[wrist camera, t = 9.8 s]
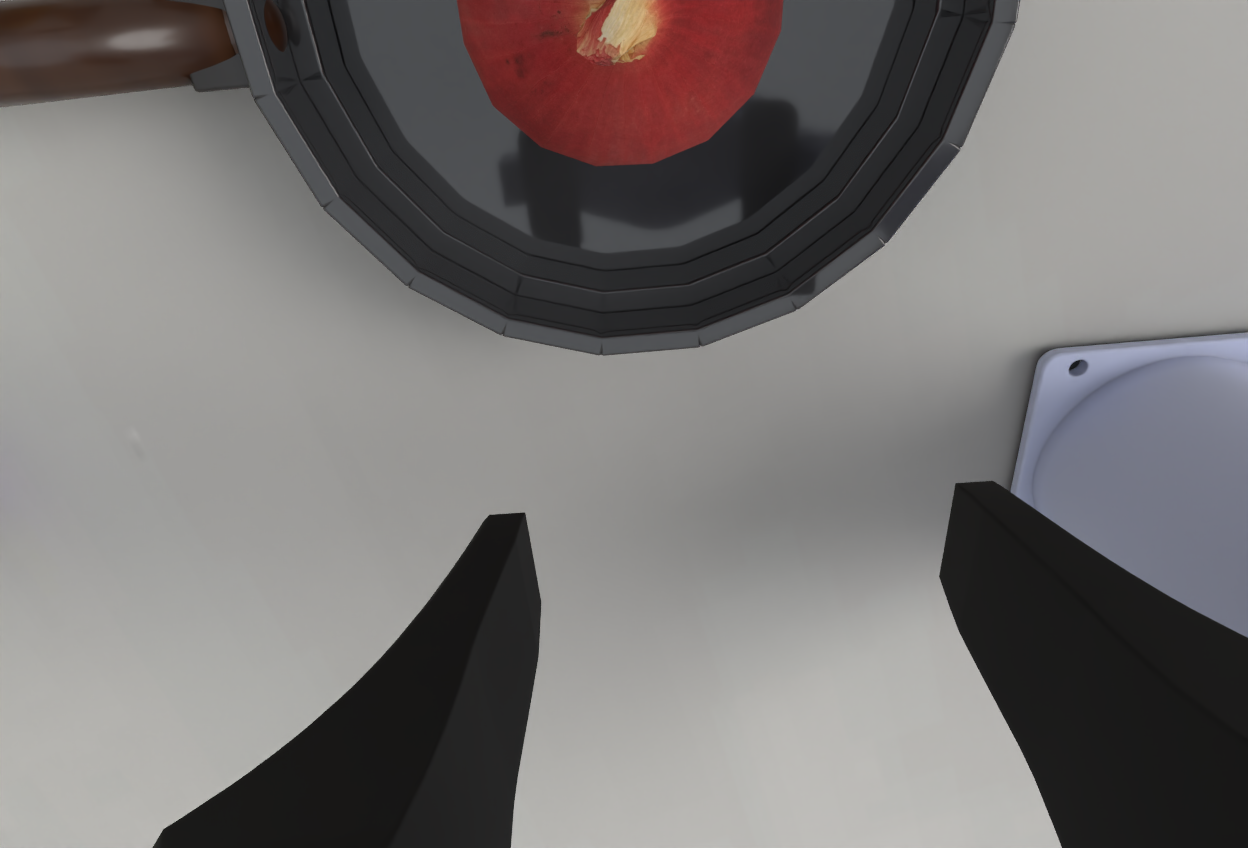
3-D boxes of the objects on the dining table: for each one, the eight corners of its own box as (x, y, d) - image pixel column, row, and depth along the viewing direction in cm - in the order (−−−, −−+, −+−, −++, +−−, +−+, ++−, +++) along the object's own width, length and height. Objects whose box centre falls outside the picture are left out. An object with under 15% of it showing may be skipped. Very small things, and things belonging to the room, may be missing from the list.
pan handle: (283, -34, 16) (215, -30, 13) (312, 72, 17) (254, 96, 14) (-171, 14, 16) (-328, 27, 14) (-116, 115, 17) (-252, 146, 15)
